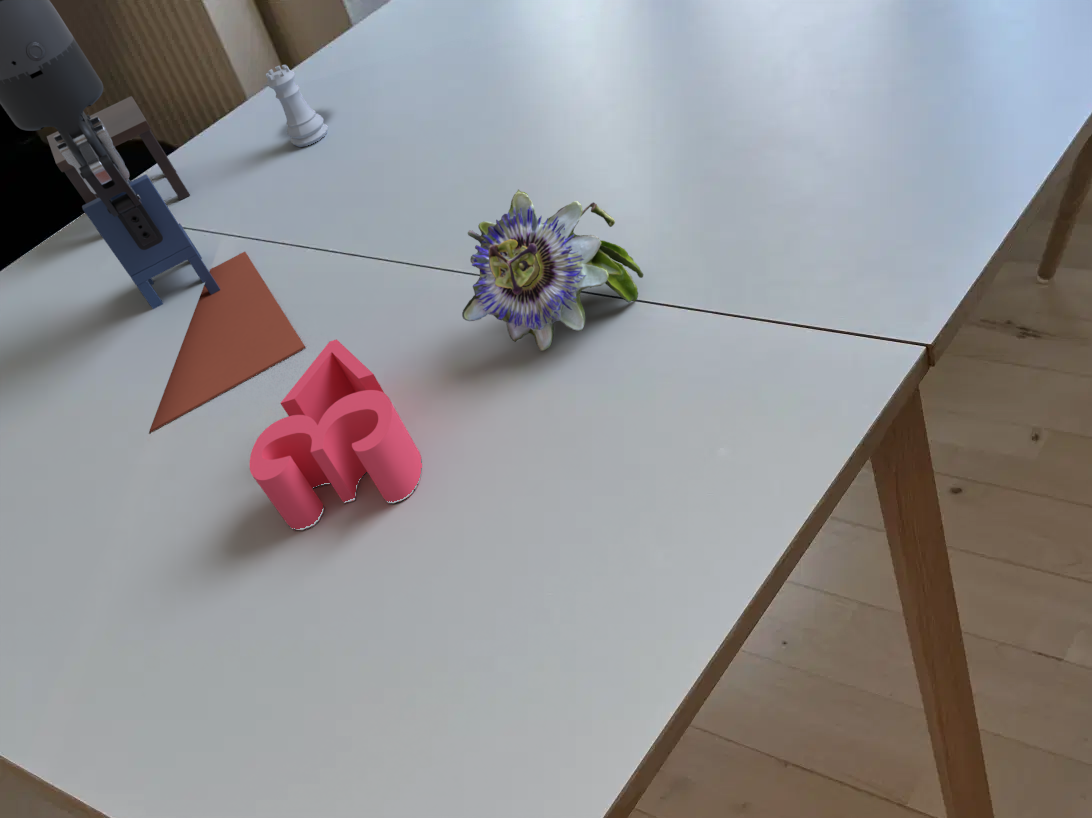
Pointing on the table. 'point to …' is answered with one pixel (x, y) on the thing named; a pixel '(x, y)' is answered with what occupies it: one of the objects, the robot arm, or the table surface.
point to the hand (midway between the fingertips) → (150, 238)
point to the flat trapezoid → (227, 340)
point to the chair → (156, 258)
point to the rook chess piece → (296, 108)
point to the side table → (121, 127)
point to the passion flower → (543, 270)
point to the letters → (333, 440)
